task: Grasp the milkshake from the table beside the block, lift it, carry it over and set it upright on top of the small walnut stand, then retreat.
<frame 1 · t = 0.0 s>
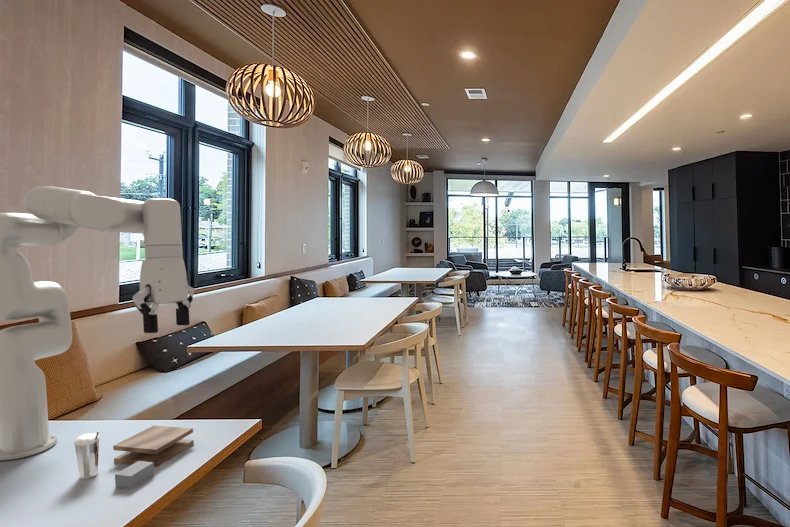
hand: (167, 328, 99), 31 cm above the table, tool pointing down, fingers open, 9 cm apart
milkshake: (90, 476, 95), on the table
stand: (155, 453, 106), on the table
block: (135, 482, 92), on the table
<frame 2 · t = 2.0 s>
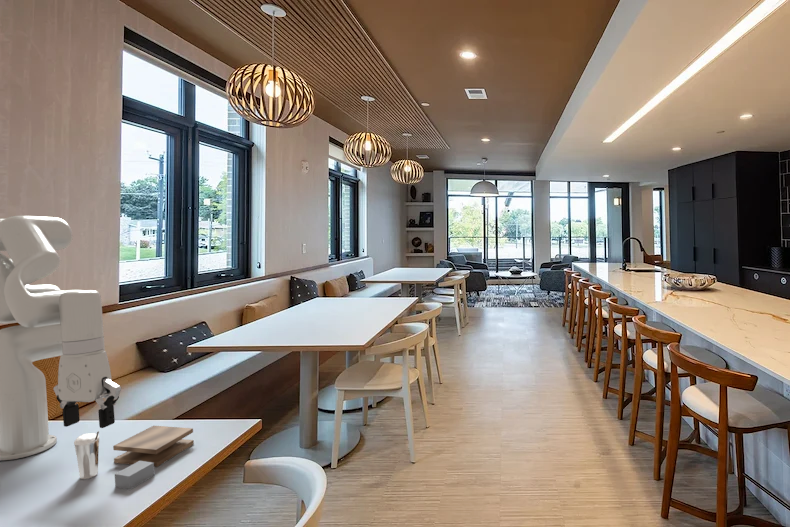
hand: (89, 424, 95), 11 cm above the table, tool pointing down, fingers open, 9 cm apart
nothing on the table moved.
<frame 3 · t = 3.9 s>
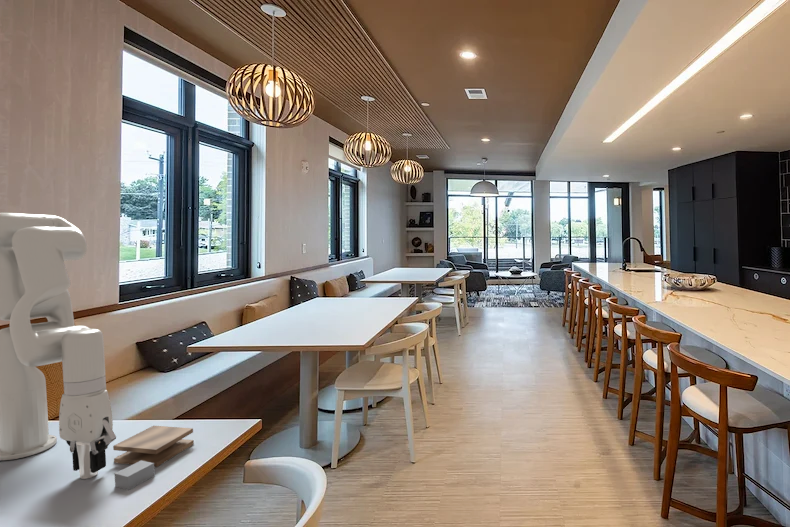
hand: (89, 467, 95), 2 cm above the table, tool pointing down, fingers closed on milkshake, 4 cm apart
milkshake: (90, 476, 95), on the table, touching gripper
everything else where it was.
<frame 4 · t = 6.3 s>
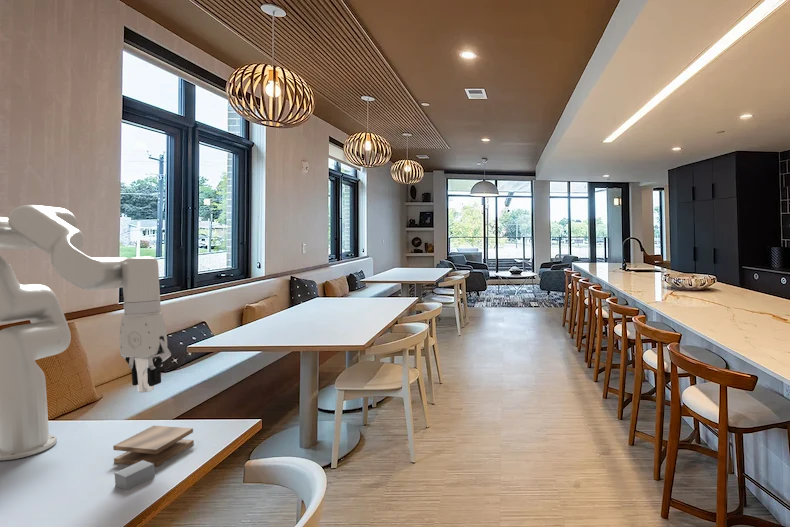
hand: (146, 383, 104), 17 cm above the table, tool pointing down, fingers closed on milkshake, 4 cm apart
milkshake: (147, 391, 104), point 16 cm above the table, touching gripper
everything else where it was.
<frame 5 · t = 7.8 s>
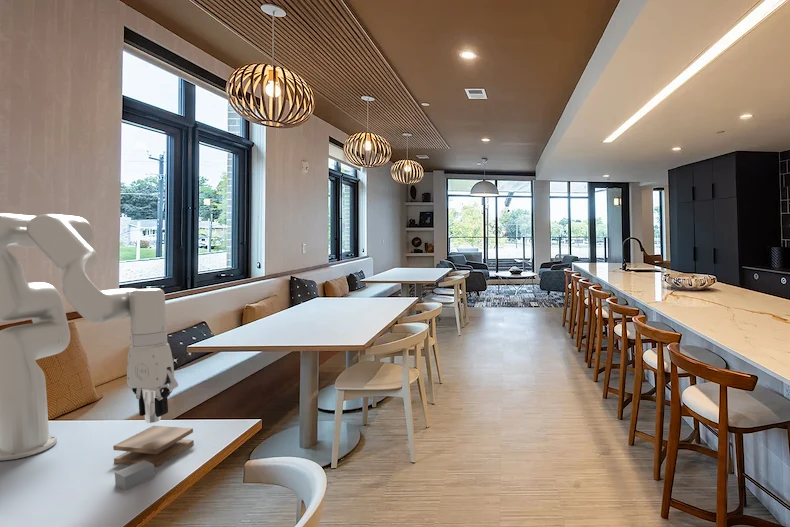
hand: (154, 413, 105), 10 cm above the table, tool pointing down, fingers closed on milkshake, 4 cm apart
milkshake: (154, 421, 105), point 8 cm above the table, touching gripper
everything else where it was.
when the fingers open (7 cm above the table, at t = 9.0 s): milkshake drops 1 cm, resting on stand.
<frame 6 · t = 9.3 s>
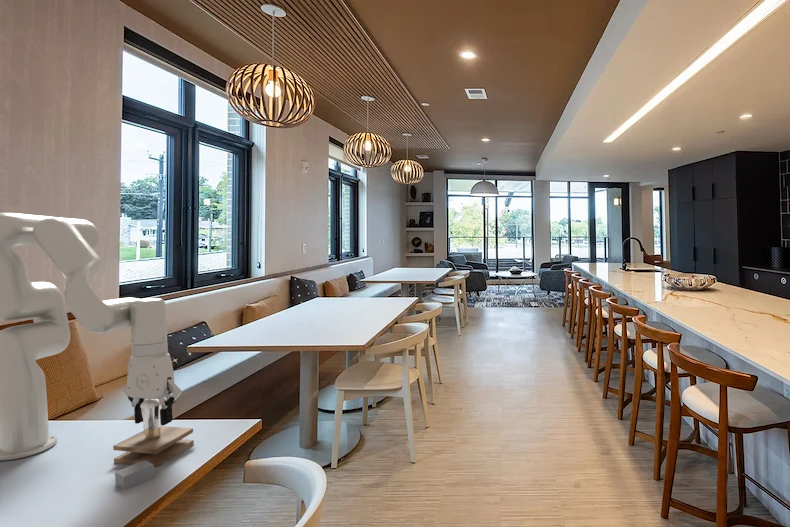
hand: (153, 421, 105), 8 cm above the table, tool pointing down, fingers open, 6 cm apart
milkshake: (154, 437, 105), point 4 cm above the table, touching stand
everything else where it was.
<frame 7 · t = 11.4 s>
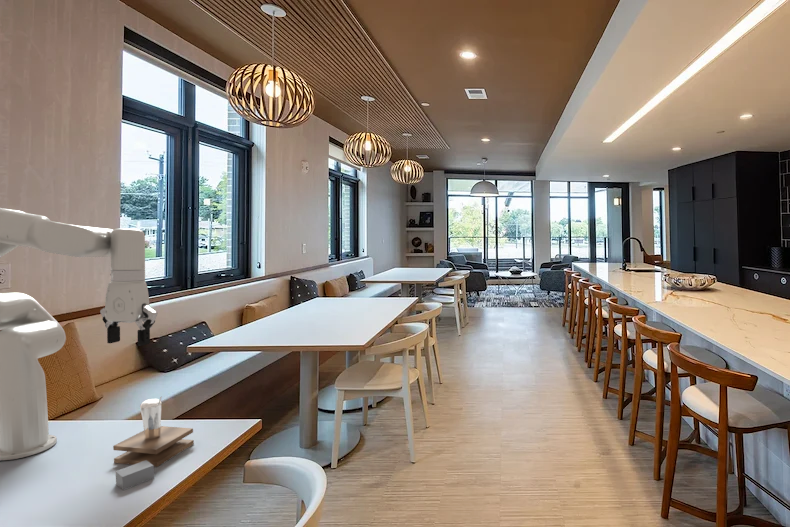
hand: (128, 343, 111), 26 cm above the table, tool pointing down, fingers open, 9 cm apart
nothing on the table moved.
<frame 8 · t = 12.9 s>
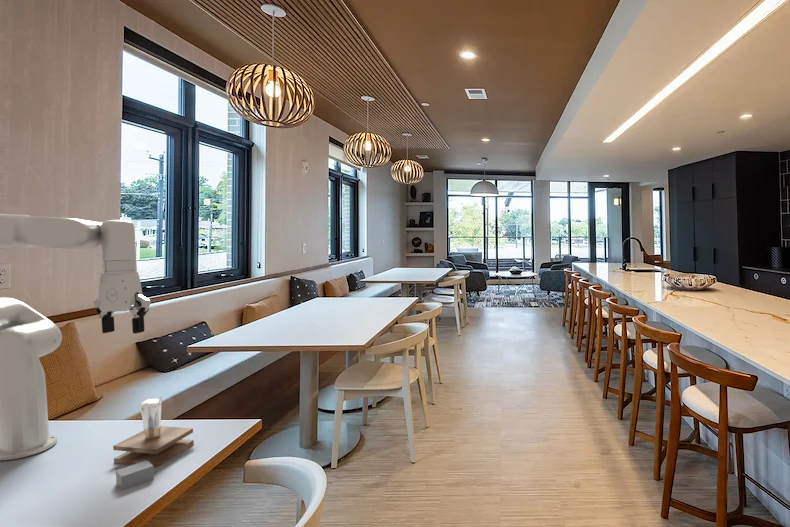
hand: (123, 332, 114), 28 cm above the table, tool pointing down, fingers open, 9 cm apart
nothing on the table moved.
at the end: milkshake inside the target area on the stand (0.1 cm from its centre), point 3.8 cm above the stand's base; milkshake tilted 0°; the gripper is holding nothing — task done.
